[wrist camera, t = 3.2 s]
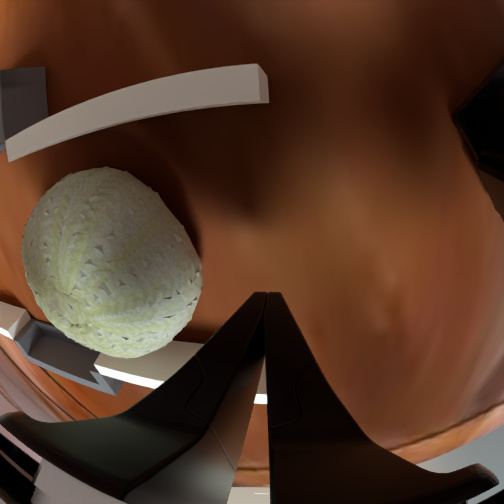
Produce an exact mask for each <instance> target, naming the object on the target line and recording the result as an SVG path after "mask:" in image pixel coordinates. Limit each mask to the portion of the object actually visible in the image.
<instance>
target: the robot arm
mask: <svg viewBox="0 0 504 504" xmlns="http://www.w3.org/2000/svg"><path fill="white" fill-rule="evenodd" d="M465 115H466V116H467V118H468V123H467V125H465V123H464V117H465ZM454 122H455V124H456V127H457V128H458V130H459V131H460V133H461V135H462V136H463V138H464V140H465V141H466V143H467V145H468V146H469V148H470V150H471V152H472V154H473V155H474V157H475V159H476V168H477V171H478V173H479V175H480V177H481V179H482V181H483V183H484V185H485V187H486V189H487V191H488V193H489V196H490V198H491V200H492V203H493V205H494V207H495V209H496V211H497V212H498V213H500V214H501V216H502V218H503V221H504V59H503V60H502V61H501V62H500V63H499V64H498V66H497V67H496V68H495V69H494V70H493V71H492V72H491V73H490V74H489V76H488V77H487V78H486V79H485V80H484V81H483V82H482V83H481V84H480V85H479V86H478V88H477V89H476V90H475V91H474V92H473V93H472V94H471V95H470V96H469V97H468V98H467V99H466V100H465V101H464V102H463V103H462V104H461V105H460V107H459V108H458V109H457V110H456V111H455V114H454ZM264 359H265V370H266V392H267V415H268V439H269V471H270V504H468V500H469V499H471V498H473V497H476V496H477V495H480V494H481V493H483V492H486V491H487V490H489V489H491V488H493V487H495V486H497V485H498V484H499V481H498V479H497V477H496V476H495V474H494V473H492V472H491V471H490V470H489V469H487V468H486V467H484V466H482V465H481V464H473V465H470V466H467V467H465V468H462V469H459V470H457V471H454V472H450V473H435V472H430V471H428V470H425V469H423V468H421V467H419V466H417V465H415V464H413V463H411V462H409V461H407V460H405V459H403V458H401V457H399V456H397V455H395V454H394V453H392V452H390V451H388V450H386V449H384V448H383V447H381V446H379V445H377V444H376V443H375V442H373V441H372V440H371V439H370V438H369V437H368V436H367V435H366V434H365V433H364V432H363V430H362V429H361V428H360V427H359V425H358V424H357V423H356V421H355V420H354V418H353V417H352V416H351V414H350V413H349V412H348V410H347V409H346V408H345V406H344V405H343V404H342V402H341V401H340V399H339V398H338V397H337V395H336V394H335V392H334V391H333V389H332V388H331V386H330V385H329V383H328V381H327V380H326V378H325V376H324V374H323V373H322V371H321V369H320V367H319V365H318V363H317V362H316V359H315V357H314V355H313V354H312V352H311V350H310V348H309V346H308V344H307V342H306V340H305V338H304V336H303V334H302V332H301V330H300V328H299V326H298V325H297V323H296V321H295V319H294V317H293V315H292V313H291V311H290V309H289V307H288V305H287V303H286V301H285V300H284V298H283V296H282V294H281V293H280V292H269V293H268V294H267V292H254V293H253V294H252V295H251V296H250V297H249V298H248V299H247V300H246V301H245V302H244V304H243V305H242V306H241V307H240V308H239V309H238V310H237V311H236V312H235V313H234V314H233V315H232V316H231V317H230V318H229V319H228V320H227V321H226V322H225V323H224V325H223V326H222V327H221V328H220V329H219V330H218V331H217V332H216V333H215V334H214V335H213V336H212V337H211V338H210V339H209V340H208V341H207V342H206V343H205V344H204V345H203V346H202V347H201V348H200V349H199V350H198V351H197V352H196V353H195V355H193V356H192V357H191V358H190V359H189V360H188V361H187V362H186V363H185V364H184V365H183V366H182V367H181V368H180V369H179V370H178V371H177V372H176V373H174V374H173V375H172V376H171V377H170V378H168V379H167V380H166V381H165V382H164V383H162V384H161V385H160V386H158V387H157V388H156V389H155V390H153V391H152V392H151V393H149V394H148V395H147V396H145V397H144V398H143V399H141V400H140V401H139V402H137V403H136V404H135V405H133V406H132V407H130V408H129V409H127V410H126V411H124V412H122V413H119V414H117V415H114V416H109V417H103V418H96V419H88V420H79V421H70V422H58V423H47V422H41V421H37V420H35V419H33V418H31V417H30V416H28V415H27V414H25V413H24V412H22V411H17V412H10V413H6V414H4V415H2V416H0V424H1V425H2V426H3V427H4V428H5V429H6V430H7V431H9V432H10V433H11V434H12V435H13V436H15V437H16V438H17V439H18V440H19V441H21V442H22V443H24V444H25V445H26V446H27V447H28V448H30V449H31V450H33V451H34V452H35V453H37V454H38V455H39V456H41V457H42V460H41V462H40V463H39V462H37V461H36V460H35V459H33V458H32V457H30V456H29V455H28V454H27V453H25V452H24V451H23V450H21V449H20V448H19V447H17V446H16V445H15V444H14V443H12V442H11V441H10V440H9V439H8V438H6V437H5V436H4V435H3V434H1V433H0V504H227V500H228V497H229V493H230V490H231V487H232V483H233V480H234V476H235V472H236V469H237V466H238V462H239V458H240V455H241V451H242V447H243V444H244V440H245V436H246V432H247V429H248V425H249V421H250V417H251V413H252V409H253V405H254V401H255V397H256V393H257V389H258V385H259V381H260V376H261V372H262V368H263V364H264ZM476 504H504V489H502V490H501V491H499V492H497V493H495V494H494V495H492V496H490V497H488V498H486V499H484V500H483V501H481V502H479V503H476Z"/></svg>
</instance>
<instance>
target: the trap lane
mask: <svg viewBox="0 0 504 504" xmlns="http://www.w3.org/2000/svg"><path fill="white" fill-rule="evenodd" d="M259 103H269V91H268V76H267V75H266V74H265V73H264V71H263V70H262V69H261V67H260V66H259V65H258V64H245V65H234V66H226V67H218V68H211V69H204V70H198V71H192V72H187V73H182V74H177V75H172V76H168V77H163V78H159V79H155V80H151V81H147V82H143V83H139V84H136V85H132V86H129V87H126V88H122V89H119V90H116V91H113V92H110V93H107V94H104V95H101V96H98V97H96V98H93V99H90V100H88V101H85V102H83V103H80V104H78V105H75V106H73V107H70V108H68V109H66V110H63V111H61V112H59V113H57V114H55V115H52V116H50V117H49V115H48V105H47V93H46V72H45V66H41V67H26V68H15V69H7V70H0V152H2V151H3V150H5V149H6V150H7V156H8V161H9V162H11V161H14V160H16V159H18V158H21V157H23V156H26V155H28V154H31V153H33V152H36V151H39V150H41V149H44V148H47V147H50V146H53V145H55V144H58V143H61V142H64V141H66V140H69V139H72V138H75V137H78V136H81V135H85V134H88V133H91V132H94V131H98V130H101V129H105V128H108V127H112V126H116V125H120V124H124V123H128V122H132V121H136V120H141V119H146V118H150V117H155V116H160V115H166V114H171V113H177V112H183V111H190V110H197V109H204V108H212V107H221V106H231V105H244V104H259ZM0 333H1V334H3V335H5V336H7V337H9V338H11V339H13V340H14V342H15V343H16V344H17V346H18V347H19V349H20V350H21V352H22V353H23V354H24V356H25V357H26V358H27V360H28V361H30V362H32V363H34V364H37V365H39V366H41V367H43V368H45V369H47V370H49V371H51V372H54V373H56V374H58V375H61V376H63V377H65V378H68V379H70V380H73V381H75V382H78V383H80V384H83V385H86V386H88V387H91V388H94V389H97V390H100V391H102V392H105V393H108V394H112V395H115V396H117V395H118V393H119V391H120V389H121V387H122V385H123V383H124V381H126V382H130V383H134V384H138V385H142V386H146V387H151V388H155V389H156V388H157V387H158V386H160V385H161V384H162V383H164V382H165V381H166V380H167V379H168V378H170V377H171V376H172V375H173V374H174V373H176V372H177V371H178V370H179V369H180V368H181V367H182V366H183V365H184V364H185V363H186V362H187V361H188V360H189V359H190V358H191V357H192V356H193V355H195V353H196V352H197V351H198V350H199V349H200V348H201V347H202V346H203V345H204V344H198V343H189V342H181V341H173V340H172V341H171V342H169V343H168V344H167V345H166V347H161V348H160V349H159V350H156V351H152V352H150V353H148V354H145V355H143V356H140V357H136V358H128V359H126V358H122V357H121V358H118V357H115V358H114V357H113V356H109V355H107V354H104V353H102V352H99V351H95V350H94V349H92V350H90V348H89V347H85V346H83V345H82V344H80V343H78V342H75V340H73V339H71V338H68V337H67V336H65V334H64V333H63V332H62V331H61V330H59V329H58V328H56V327H55V326H54V325H51V324H48V323H45V322H42V321H38V320H35V319H32V318H31V317H30V316H29V314H28V312H27V310H26V309H23V308H19V307H16V306H13V305H10V304H7V303H4V302H1V301H0ZM254 403H260V404H267V392H266V370H265V359H264V364H263V368H262V372H261V376H260V381H259V385H258V389H257V393H256V397H255V401H254Z"/></svg>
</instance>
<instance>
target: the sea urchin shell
mask: <svg viewBox="0 0 504 504" xmlns="http://www.w3.org/2000/svg"><path fill="white" fill-rule="evenodd" d="M22 237H23V242H22V248H21V253H22V259H23V264H24V268H25V276H26V277H27V283H28V285H29V286H30V288H31V290H32V292H33V294H34V297H35V298H36V299H35V300H36V301H37V305H39V306H40V309H42V310H43V312H44V314H45V315H46V317H47V319H48V320H49V321H50V322H51V323H52V324H53V325H54V326H55V327H56V328H58V329H59V330H61V331H62V332H63V333H64V334H65V336H67V337H68V338H71V339H73V340H75V342H78V343H80V344H82V345H83V346H85V347H89V348H90V350H92V349H94V350H95V351H99V352H102V353H104V354H107V355H109V356H113V357H114V358H115V357H118V358H121V357H122V358H126V359H128V358H136V357H140V356H143V355H145V354H148V353H150V352H152V351H156V350H159V349H160V348H161V347H166V345H167V344H168V343H169V342H171V341H172V338H173V337H174V336H175V335H176V334H177V333H178V332H180V331H181V330H182V329H183V327H185V326H186V325H187V323H188V322H189V321H190V320H192V314H193V312H194V309H195V307H196V305H197V302H198V299H199V296H200V293H201V291H202V290H203V287H202V285H203V281H202V279H203V278H202V271H201V268H202V266H201V265H202V262H201V260H200V258H199V257H198V255H197V253H196V250H195V248H194V247H193V245H192V243H191V240H190V238H189V236H188V235H187V233H186V231H185V230H184V226H183V225H181V224H180V222H179V221H178V220H177V219H176V218H175V216H174V215H173V214H172V213H171V212H170V210H169V209H168V208H167V207H166V205H165V204H164V202H163V200H162V199H161V198H160V196H159V194H158V193H157V192H154V191H153V190H152V189H151V187H147V186H146V185H145V184H143V183H142V182H141V181H139V180H138V179H137V178H135V177H134V176H132V175H131V174H130V173H128V171H124V172H123V171H121V170H117V169H113V168H109V167H107V166H106V167H103V168H94V169H90V170H84V171H80V172H79V171H78V172H76V173H75V174H73V173H70V174H68V175H67V176H66V177H64V178H62V179H61V180H60V181H59V182H57V183H56V184H55V185H54V186H53V187H52V188H51V189H48V190H47V191H46V193H45V195H44V196H42V197H41V198H40V200H39V202H38V203H37V205H36V206H35V208H34V210H33V212H32V214H31V215H30V217H29V219H28V221H27V223H26V224H25V230H24V235H23V236H22Z"/></svg>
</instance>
